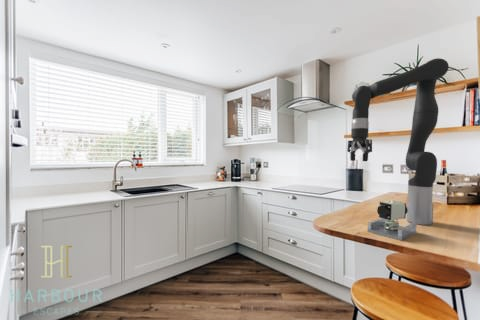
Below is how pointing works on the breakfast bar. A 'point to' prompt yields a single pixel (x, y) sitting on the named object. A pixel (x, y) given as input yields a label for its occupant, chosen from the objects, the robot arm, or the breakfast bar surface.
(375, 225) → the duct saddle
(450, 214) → the breakfast bar surface
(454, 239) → the breakfast bar surface
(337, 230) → the breakfast bar surface
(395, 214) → the pneumatic valve
